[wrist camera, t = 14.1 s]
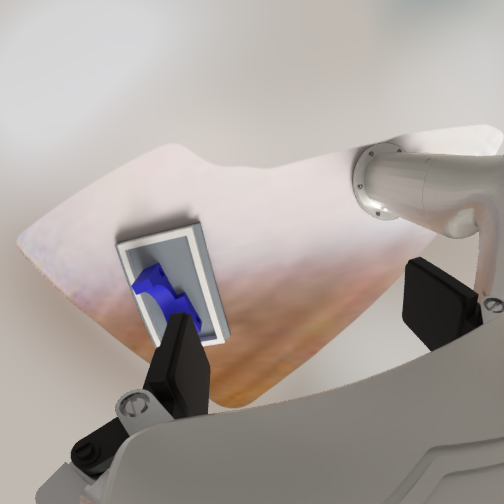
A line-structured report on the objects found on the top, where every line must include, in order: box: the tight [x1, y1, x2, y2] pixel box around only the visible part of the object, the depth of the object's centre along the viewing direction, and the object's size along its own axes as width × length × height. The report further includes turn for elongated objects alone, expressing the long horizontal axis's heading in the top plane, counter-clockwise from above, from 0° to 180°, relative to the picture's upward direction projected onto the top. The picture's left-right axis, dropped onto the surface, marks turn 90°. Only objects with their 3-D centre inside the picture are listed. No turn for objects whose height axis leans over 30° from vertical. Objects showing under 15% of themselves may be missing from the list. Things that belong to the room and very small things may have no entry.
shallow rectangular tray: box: [115, 223, 231, 348], centre depth 42 cm, size 14×20×2 cm
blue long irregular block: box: [131, 263, 202, 333], centre depth 39 cm, size 12×4×6 cm, turn 22°
